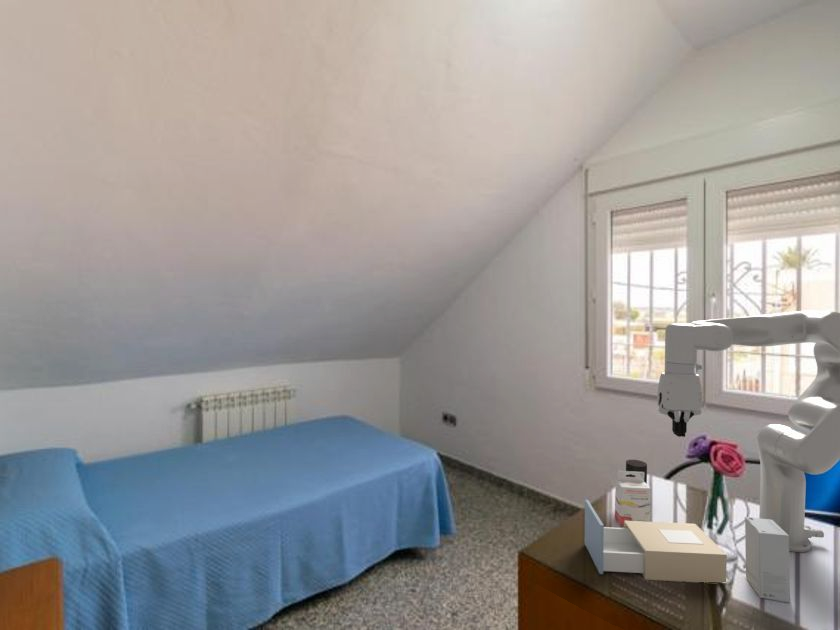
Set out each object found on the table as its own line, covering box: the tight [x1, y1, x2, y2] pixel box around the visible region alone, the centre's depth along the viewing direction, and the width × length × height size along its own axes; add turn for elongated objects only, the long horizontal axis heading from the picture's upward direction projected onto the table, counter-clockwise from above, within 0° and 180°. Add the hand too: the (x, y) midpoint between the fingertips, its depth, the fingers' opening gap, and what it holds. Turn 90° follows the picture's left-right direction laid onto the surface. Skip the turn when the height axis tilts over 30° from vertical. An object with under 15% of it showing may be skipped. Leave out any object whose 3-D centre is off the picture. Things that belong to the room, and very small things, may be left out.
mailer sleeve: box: [623, 521, 728, 584], centre depth 110 cm, size 18×14×7 cm
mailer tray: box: [584, 499, 645, 575], centre depth 110 cm, size 18×13×12 cm
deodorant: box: [625, 459, 648, 485], centre depth 137 cm, size 6×6×15 cm
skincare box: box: [744, 516, 791, 604], centre depth 100 cm, size 8×6×15 cm
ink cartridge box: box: [614, 470, 652, 527], centre depth 129 cm, size 9×5×15 cm, turn 84°
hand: (679, 435), depth 120 cm, fingers closed
